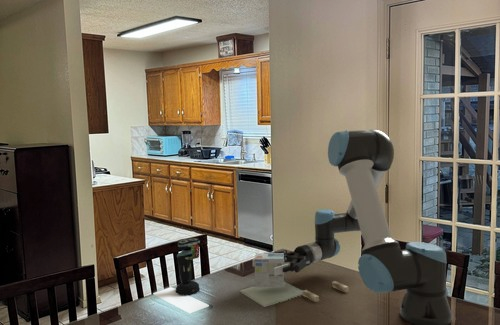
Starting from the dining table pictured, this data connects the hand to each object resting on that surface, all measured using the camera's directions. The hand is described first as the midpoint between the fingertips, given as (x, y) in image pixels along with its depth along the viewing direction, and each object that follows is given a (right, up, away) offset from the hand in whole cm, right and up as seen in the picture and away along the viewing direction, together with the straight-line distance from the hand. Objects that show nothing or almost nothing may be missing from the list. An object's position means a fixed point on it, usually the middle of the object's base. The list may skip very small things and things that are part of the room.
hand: (263, 267), depth 160 cm
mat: (+3, -10, +3) cm, 11 cm away
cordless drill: (-27, -11, +7) cm, 31 cm away
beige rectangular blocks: (+23, -10, +1) cm, 25 cm away
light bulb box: (+3, -7, +2) cm, 8 cm away
